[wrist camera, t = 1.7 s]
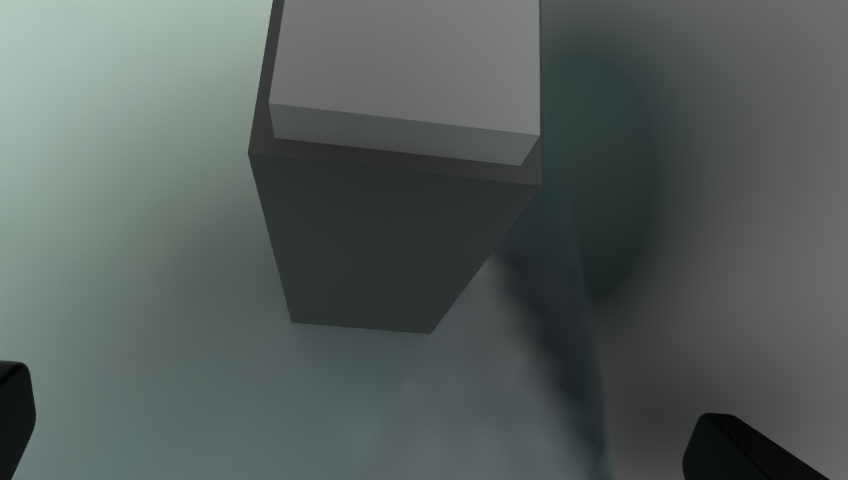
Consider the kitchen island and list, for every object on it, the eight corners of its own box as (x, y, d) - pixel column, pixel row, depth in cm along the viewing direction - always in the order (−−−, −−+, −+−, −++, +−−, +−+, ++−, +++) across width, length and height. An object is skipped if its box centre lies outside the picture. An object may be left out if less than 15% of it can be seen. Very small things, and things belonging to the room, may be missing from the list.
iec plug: (430, 334, 21) (564, 156, 9) (291, 322, 21) (239, 118, 9) (436, 220, 23) (559, -65, 11) (306, 207, 22) (278, -109, 10)
